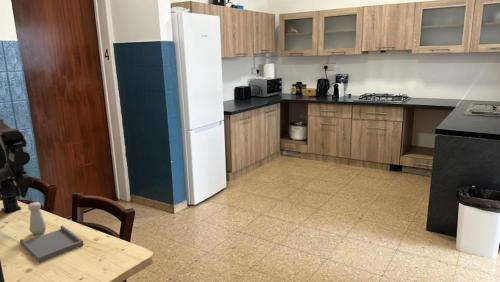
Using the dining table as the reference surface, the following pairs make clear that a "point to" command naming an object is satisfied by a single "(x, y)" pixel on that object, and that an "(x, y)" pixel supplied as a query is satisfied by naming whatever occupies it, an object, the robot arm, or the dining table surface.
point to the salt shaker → (36, 219)
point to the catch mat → (52, 244)
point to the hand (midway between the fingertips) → (20, 195)
